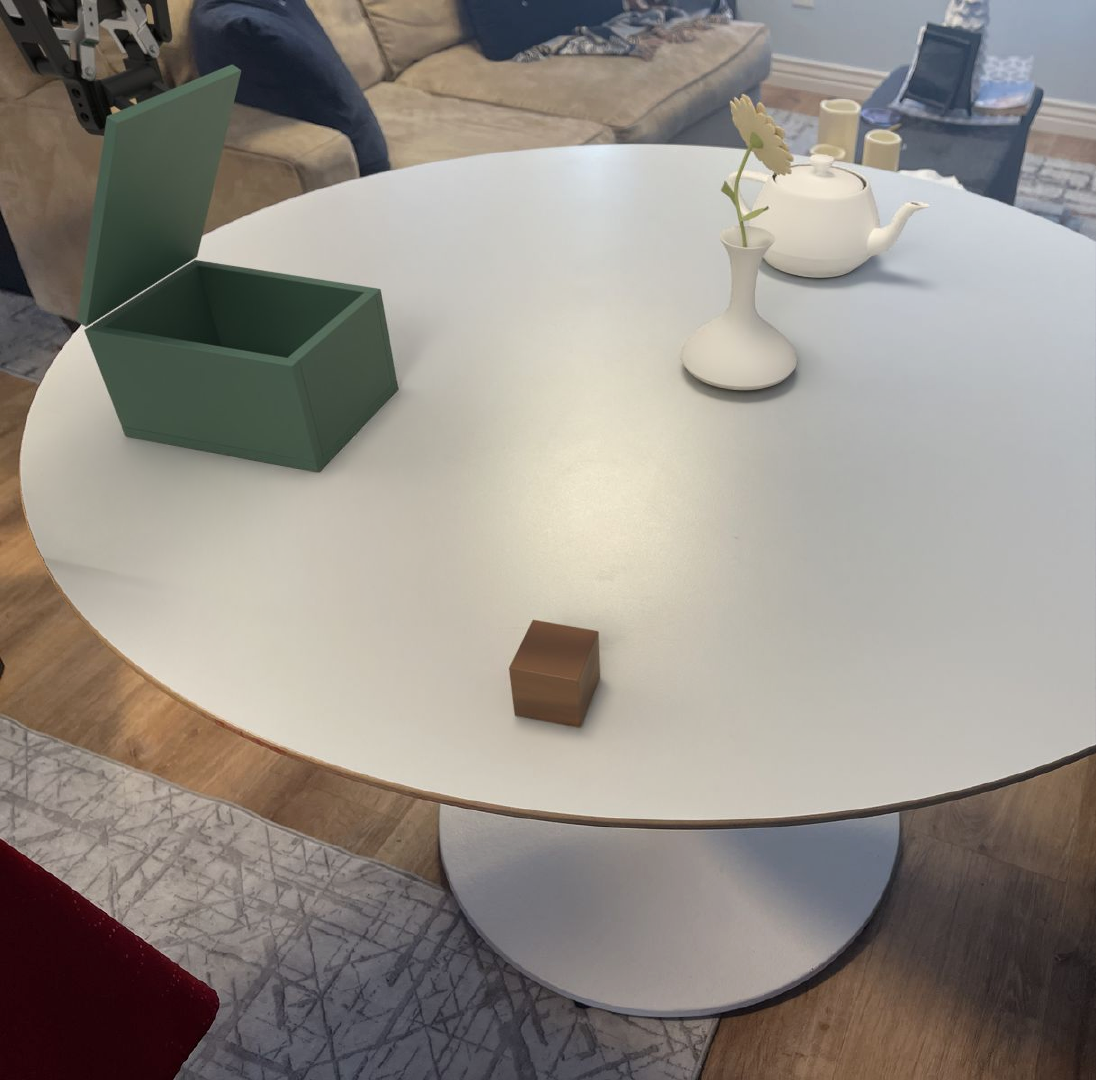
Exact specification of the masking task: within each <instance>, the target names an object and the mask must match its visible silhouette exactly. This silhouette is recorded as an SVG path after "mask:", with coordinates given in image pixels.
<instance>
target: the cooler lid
mask: <svg viewBox="0 0 1096 1080" xmlns="http://www.w3.org/2000/svg"><path fill="white" fill-rule="evenodd" d="M241 74H242V70H241V69H240V68H239V67H237V66H235V64H230V65H227V66H224V67H223V68H220V69H218V70H215V71H213V72H210V73H208V74H205V75H204V76H200V77H198V78H196V79H193V80H191V81H188V82H186V83H184V84H181V85H179V86H177V87H174V88H170V87H169V86H167V85H164V84H165V83H164V84H162V83H161V82H159V78H158V76H157V74H156V72H155V71H154V70H153V69H152V68H151V67H150V66H148V65H144V64H141V65H138V66H136V67H133V68H130V69H128V70H126V69H125V70H123V71H119V72H117V73H115V74H112V75H109V76H107V77H104V78H100V80H101V82H102V85H103V88H104V91H105V94H106V97H107V100H108V103H109V105H110V108H111V109H112V108H115V109H117V110H119V111H116V112H113V113H112V114H111V115H109V116H107V119H106V126H105V133H104V136H103V140H102V147H101V155H100V160H99V168H98V176H97V181H96V188H95V189H96V190H95V195H94V201H93V209H92V215H91V223H90V228H89V235H88V243H87V249H86V256H85V263H84V271H83V278H82V283H81V291H80V297H79V304H78V311H77V318H76V322H77V323H78V324H80V325H82V326H83V327H85V328H88V327H90V326H91V325H93V324H94V323H96V322H97V321H99V320H100V319H102V318H103V317H105V316H107V315H108V314H110V313H111V312H113V311H114V310H116V309H118V308H119V307H121V306H122V305H124V304H126V303H127V302H129V301H130V300H132V299H133V298H135V297H137V296H138V295H140V294H141V293H143V292H144V291H146V290H148V289H149V288H151V287H152V286H154V285H156V284H157V283H159V282H160V281H162V280H163V279H165V278H167V277H168V276H170V275H171V274H173V273H174V272H176V271H178V270H179V269H181V268H182V267H184V266H186V265H187V264H189V263H191V262H192V261H194V260H196V258H198V256H199V251H200V247H201V243H202V239H203V234H204V230H205V225H206V220H207V218H208V213H209V209H210V205H211V200H212V197H213V192H214V188H215V185H216V184H215V183H216V179H217V176H218V170H219V167H220V162H221V160H222V159H221V158H222V154H223V150H224V145H225V142H226V141H225V140H226V137H227V133H228V128H229V124H230V121H231V116H232V112H233V108H234V103H235V99H236V94H237V91H238V87H239V83H240V78H241ZM151 91H152V92H153V93H155V94H156V95H157V96H155V97H152V98H150V99H147V100H145V101H143V102H140V103H138V104H137V103H134V102H133V101H131V100H135V98H136V97H139V96H141V95H144V94H146V93H149V92H151Z"/></svg>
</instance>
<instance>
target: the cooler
mask: <svg viewBox="0 0 1096 1080" xmlns="http://www.w3.org/2000/svg"><path fill="white" fill-rule="evenodd" d="M83 331H84V334H85V336H86V339H87V342H88V344H89V346H90V349H91V351H92V354H93V357H94V359H95V361H96V365H97V367H98V369H99V372H100V375H101V377H102V379H103V382H104V385H105V387H106V390H107V393H108V395H109V398H110V400H111V403H112V405H113V408H114V410H115V413H116V416H117V418H118V421H119V423H120V426H121V429H122V431H123V434H124V436H125V437H128V438H134V439H139V440H145V441H149V442H155V443H159V444H160V443H161V444H165V445H170V446H176V447H181V448H186V449H193V450H197V451H203V452H209V453H213V454H217V455H223V456H230V457H235V458H240V459H245V460H251V461H256V462H262V463H266V464H272V465H277V466H283V467H287V468H294V469H298V470H299V469H300V470H304V471H309V472H314V473H320V472H321V471H322V470H323V469H324V467H325V466H327V465H328V463H329V462H330V461H331V460H332V459H333V458H334V457H335V456H336V455H337V454H338V453H339V452H340V450H342V448H344V446H345V445H346V444H348V443H349V441H350V440H351V439H352V438H354V436H355V435H356V434H357V432H359V431H360V429H361V428H362V427H363V426H365V425H366V423H368V422H369V420H370V419H371V418H372V417H373V416H374V415H375V414H376V413H377V412H378V411H379V410H380V409H381V408H382V407H383V406H384V404H385V403H386V402H388V400H389V399H390V398H391V397H392V396H393V395H394V394H395V393H396V392H397V391H398V390H399V384H398V379H397V378H398V377H397V373H396V367H395V362H394V356H393V351H392V346H391V339H390V334H389V329H388V323H387V317H386V311H385V306H384V299H383V295H382V289H381V288H377V287H370V286H365V285H364V286H363V285H358V284H351V283H346V282H345V283H344V282H339V281H338V282H337V281H332V280H326V279H320V278H313V277H308V276H300V275H294V274H290V273H289V274H288V273H281V272H276V271H270V270H269V271H268V270H262V269H257V268H256V269H255V268H251V267H243V266H238V265H230V264H225V263H220V262H219V263H218V262H212V261H205V260H199V259H193V260H192V261H190V262H188V263H187V264H185V265H184V266H182V267H181V268H179V269H177V270H176V271H174V272H173V273H171V274H169V275H168V276H166V277H165V278H163V279H162V280H160V281H158V282H157V283H155V284H154V285H152V286H150V287H149V288H147V289H146V290H144V291H143V292H141V293H139V294H138V295H136V296H135V297H133V298H131V299H130V300H128V301H127V302H125V303H124V304H122V305H120V306H119V307H117V308H116V309H114V310H112V311H111V312H109V313H108V314H106V315H105V316H103V317H101V318H100V319H98V320H97V321H95V322H93V323H92V324H90V325H89V326H87V327H86V328H85V329H84V330H83Z"/></svg>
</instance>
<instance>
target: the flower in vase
mask: <svg viewBox="0 0 1096 1080" xmlns="http://www.w3.org/2000/svg"><path fill="white" fill-rule="evenodd" d="M729 106H730V108H731V109H730V112H731V115H732V118H731V119H732V122H733V125H734V126H735V128H736V129H737V130H738V131H739V135H740V137H741V139H742V140H743V142H745V144H746V147H747V149H746V150H745V151H746V152H745V153H744V156H743V158H742V161H741V164H740V166H739V168H738V170H739V171H738V174H737V177H736V180H735V185H734V192H733V190H732V189H731V188H730V186H729V185H728V183H727V182H728V181H726V180H724V182H723V185H722V187H721V188H720V192H722V193H723V194H724V195H726V196H727V197H728V198H729V199H730V200H731V202H732V204H733V203H734V204H733V206H734V205H735V206H736V207H735V206H734V207H735V209H736V213H737V219H738V222H739V225H738V226H737V225H735V226H730V227H727V228H725V229H723V230H721V231H720V232H719V235H718V239H719V240H720V242H721V243H722V245H723V246H724V248H725V250H726V252H727V255H728V258H729V264H730V273H731V276H730V277H731V291H730V299H729V304H728V307H727V308H726V310H725V311H724V312H723V313H722V314H720V315H718V316H717V317H715V318H713V319H711V320H709V321H708V322H705V323H704V324H703V325H701V326H699V327H698V328H697V329H695V330H694V331H693V332H692V333H691V334H689V336H688V337H686V339H685V340H684V342H683V345H682V347H681V349H680V353H679V356H680V361H681V363H682V364H683V366H684V367H685V369H686V370H687V371H688V372H689V373H690V375H691V376H693V377H694V378H696V379H697V380H699V381H701V382H702V383H705V384H707V385H709V386H712V387H715V388H721V389H725V390H734V391H752V390H753V391H754V390H762V389H766V388H769V387H773V386H776V385H778V384H779V383H782V382H783V381H785V380H786V379H787V378H788V377H789V376H790V375H791V374H792V373H793V372H794V370H795V369H796V366H797V363H798V359H797V354H796V351H795V348H794V346H793V344H792V343H791V342H790V341H789V340H788V339H787V337H786V336H785V335H784V334H783V332H781V331H780V330H779V329H778V328H776V327H774V326H773V325H772V324H771V323H769V322H768V321H766V320H765V319H764V318H763V317H762V316H761V315H760V314H759V312H758V310H757V309H756V287H757V285H756V284H757V280H758V274H759V269H760V266H761V262H762V261H763V259H764V258H763V256H764V254H765V253H766V251H767V250H768V248H769V247H770V246H771V245H772V244H773V243H774V241H775V237H774V236H773V234H771V233H770V232H768V231H766V230H764V229H761V228H757V227H751V226H748V225H744V222H747V220H750V219H752V218H754V217H756V216H758V215H759V214H761V213H762V212H764V211H766V210H768V209H769V207H768V206H767V207H766V208H761V209H758V210H755V211H753V212H750V213H748V214H747V215H745V216H744V217H743V216H742V215H741V211H740V206H739V201H738V184H740V180H741V179H740V177H741V174H742V171H743V170H745V169H744V168H745V166H746V163H747V162H748V158H749V156H750V154H751V152H753V154H754V156H755V157H756V159H757V160H758V161H759V162H762V164H763V166H765V168H767V169H768V170H769V171H772V172H774V173H775V174H777V175H780V174H781V175H783V176H785V175H786V173H787V174H791V173H792V171H791V169H790V167H789V166H791V164H792V162H793V163H794V161H795V159H794V156H793V155H792V153H790V150H791V149H790V146H789V143H787V142H785V140H783V139H785V137H786V132H785V130H784V128H783V127H781V126H779V125H776V124H775V120H774V119H773V117H772V116H770V115H767V109H766V107H765V105H764V104H763V102H761V101H759V102H757V104H756V108H755V105H754V104H753V101H752V99H751V97H749V95H746V94H745V93H742V94H741V97H740V98H739V99H738V98H737V97H736V96H734V97H733V101H732V100H729Z"/></svg>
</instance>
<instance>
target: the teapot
mask: <svg viewBox="0 0 1096 1080" xmlns="http://www.w3.org/2000/svg"><path fill="white" fill-rule="evenodd" d="M834 163H835V158H834V157H833V156H831V155H829V154H823V153H817V154H812V155H810V157H809V162H793V163H790V164H791V166H789V167H790V169H791V171H792V173H791V174H787V173H786V175H785V176H783V175H781V174H780V175H777V174H775V173H774V172H773V171H772V172H770V174H768V173H765V172H759V171H754V170H749V169H743V171H742V174H741V177H740V180H749V181H753V182H758V183H763V186H762V188H761V190H760V192H759V194H758V195H757V197H756V200H755V201H754V204H753V206H752V208H750V207H749V205H748V204H747V203H746V201H745V199H744V198H743V195H742V193H741V190H740V185H739V184H740V183H739V184H738V201H739V206H740V211H741V215H742V218H743V217H744V216H745V215H747V214H748V213H750V212H753V211H755V210H758V209H761V208H766V207H767V206H768V207H769V209H768V210H766V211H764V212H762V213H761V214H759V215H758V216H756V217H754V218H752V219H750V220H746V222H748V224H747V226H751V227H757V228H761V229H764V230H766V231H768V232H770V233H771V234H773V236H774V237H775V241H774V243H773V244H772V245H771V246H770V247H769V248H768V250H767V251H766V253H765V254H764V256H763V258H762V259H764V260H765V261H766V262H767V264H768V265H770V266H771V267H773V268H775V269H776V270H779V271H781V272H783V273H787V274H790V275H794V276H799V277H804V278H818V279H819V278H820V279H821V278H834V277H840V276H843V275H846V274H850V273H851V272H852V271H854V270H855V269H857V268H858V267H859V266H861V265H862V264H864V263H865V262H867V261H868V260H869V259H870V258H872V257H874V256H878V255H880V254H883V253H885V252H888V251H889V250H890V249H891V248H892V247H893V246H894V245H895V244H896V243H897V242H898V239H899V237H900V236H901V234H902V232H903V230H904V228H905V226H906V224H907V222H908V221H909V219H910V218H911V217H912V216H913V214H915V213H916V212H918V211H920V210H923V209H927V208H930V207H931V204H929V203H926V202H921V201H915V200H912V201H911V200H910V201H906V202H905V203H903V204H902V205H901V206H899V208H898V209H897V211H896V212H895V215H894V216H893V218H892V219H891V221H890V222H889V224H887V225H886V226H884V227H881V222H880V216H879V211H878V207H877V204H876V200H875V196H874V193H873V190H872V186H871V184H870V181H869V179H868V178H866V176H865V175H863V174H861V172H858V171H856V170H854V169H851V168H848V167H845V166H841V165H837V164H834ZM738 171H739V169H738V170H735V171H733V172H730V173H729V176H728V178H727V181H726V182H727V183H728V185H729V186H730V188H731V189H732V190H733V192H734V185H735V180H736V177H737V174H738ZM732 204H733V206H734V207H735V208H736V206H735V205H734V203H733V202H732Z"/></svg>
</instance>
